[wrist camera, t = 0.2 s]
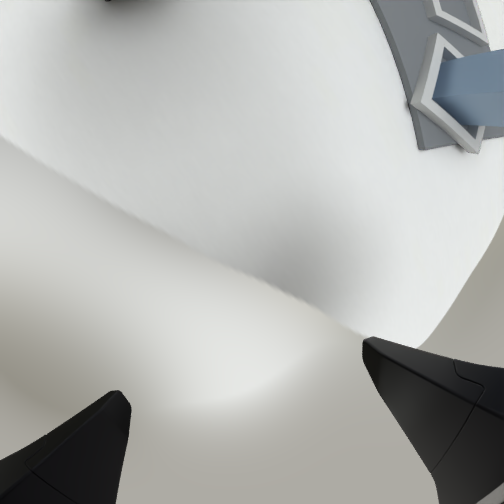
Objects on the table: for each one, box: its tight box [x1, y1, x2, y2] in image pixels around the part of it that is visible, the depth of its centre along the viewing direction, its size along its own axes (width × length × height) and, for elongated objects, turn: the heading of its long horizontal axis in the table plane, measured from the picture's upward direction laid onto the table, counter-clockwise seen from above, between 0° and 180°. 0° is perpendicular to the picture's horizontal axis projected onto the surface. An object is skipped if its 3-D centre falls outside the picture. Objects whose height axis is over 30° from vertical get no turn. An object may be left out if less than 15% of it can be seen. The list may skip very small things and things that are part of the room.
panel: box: [370, 0, 504, 154], centre depth 16 cm, size 22×17×2 cm
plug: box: [432, 49, 504, 127], centre depth 12 cm, size 5×4×13 cm
